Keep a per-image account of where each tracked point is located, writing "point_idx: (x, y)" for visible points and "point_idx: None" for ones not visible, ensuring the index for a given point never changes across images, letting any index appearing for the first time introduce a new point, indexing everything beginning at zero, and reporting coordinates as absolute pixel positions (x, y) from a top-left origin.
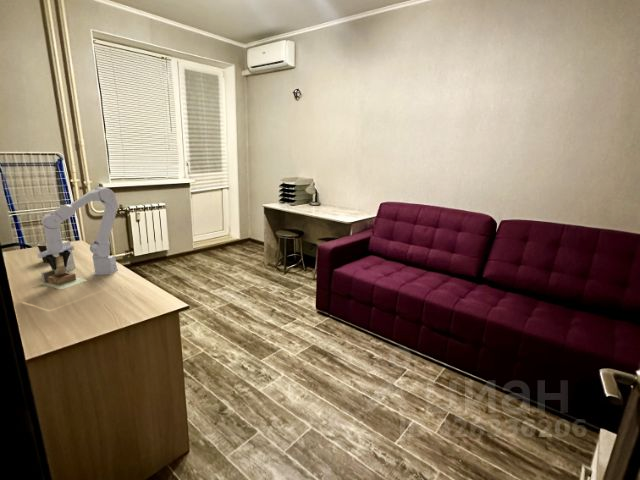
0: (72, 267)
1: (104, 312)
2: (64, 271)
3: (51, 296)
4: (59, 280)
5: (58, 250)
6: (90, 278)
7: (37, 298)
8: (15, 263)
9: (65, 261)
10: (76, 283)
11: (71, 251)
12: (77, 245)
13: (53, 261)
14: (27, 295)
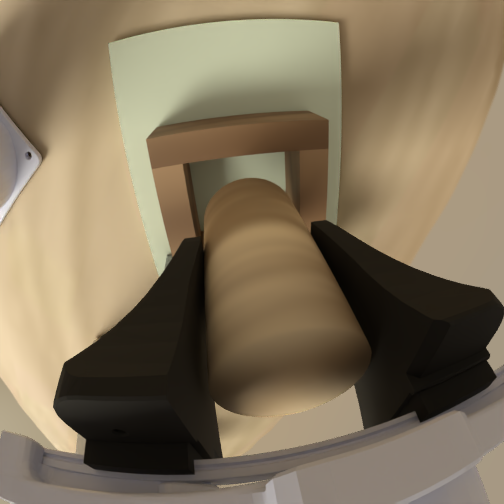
0: None
1: None
2: (228, 192)
3: (411, 8)
4: (307, 116)
5: (425, 501)
6: (70, 98)
7: (452, 60)
8: (236, 453)
9: (190, 274)
10: (202, 36)
11: (79, 440)
12: None
13: (406, 275)
14: (447, 150)
